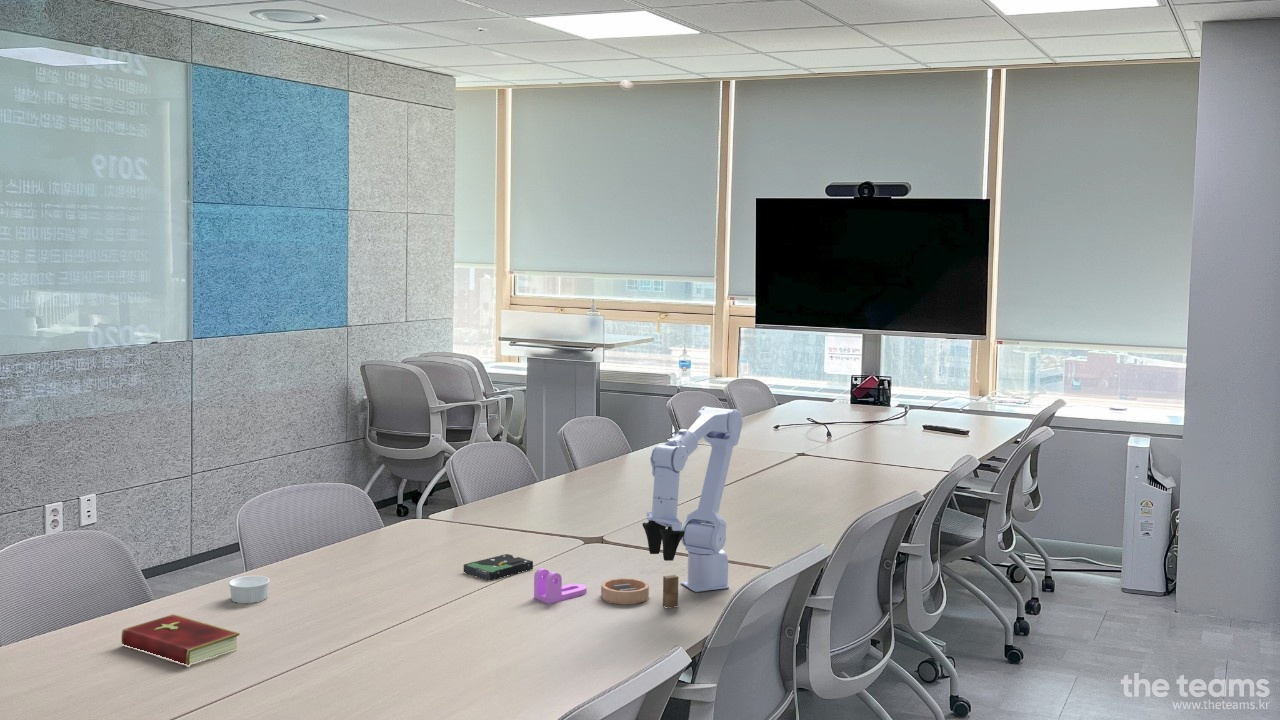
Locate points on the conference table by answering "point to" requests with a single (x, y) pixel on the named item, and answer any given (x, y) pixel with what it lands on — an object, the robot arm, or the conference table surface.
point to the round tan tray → (624, 591)
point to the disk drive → (497, 567)
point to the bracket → (554, 587)
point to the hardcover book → (180, 639)
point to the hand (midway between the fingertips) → (661, 557)
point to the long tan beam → (670, 591)
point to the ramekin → (249, 589)
